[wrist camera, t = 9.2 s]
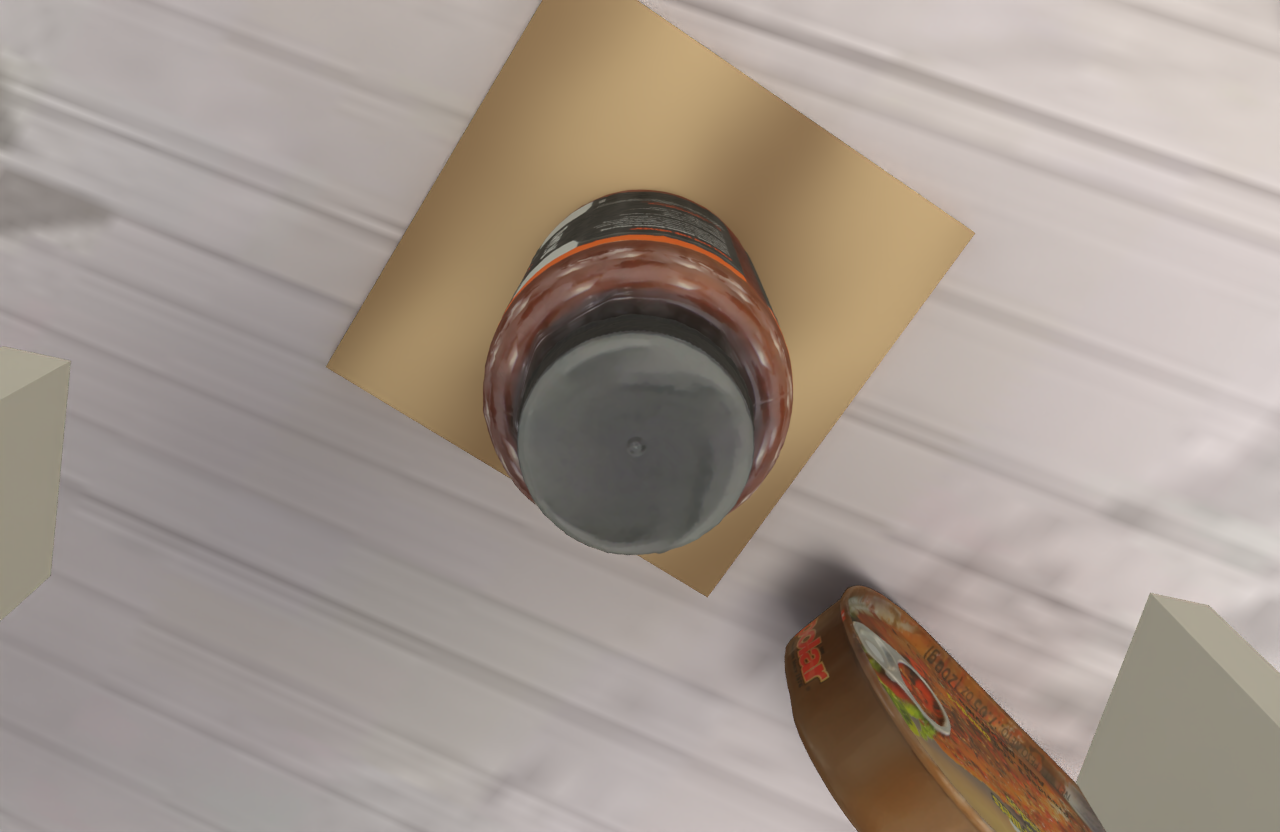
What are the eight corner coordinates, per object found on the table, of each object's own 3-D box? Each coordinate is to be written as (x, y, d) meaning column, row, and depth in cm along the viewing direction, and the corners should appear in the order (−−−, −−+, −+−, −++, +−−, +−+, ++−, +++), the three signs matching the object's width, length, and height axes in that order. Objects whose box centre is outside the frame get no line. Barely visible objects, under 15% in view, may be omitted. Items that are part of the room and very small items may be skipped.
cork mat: (331, 361, 31) (325, 366, 31) (571, -45, 28) (569, -47, 28) (706, 587, 33) (707, 597, 33) (969, 229, 30) (975, 232, 30)
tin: (1158, 867, 36) (1304, 1101, 28) (1075, 925, 37) (1194, 1172, 29) (832, 533, 33) (891, 688, 25) (748, 604, 34) (778, 777, 25)
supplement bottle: (498, 217, 30) (408, 313, 19) (730, 159, 29) (775, 224, 18) (560, 437, 31) (509, 640, 21) (780, 386, 31) (847, 567, 20)
